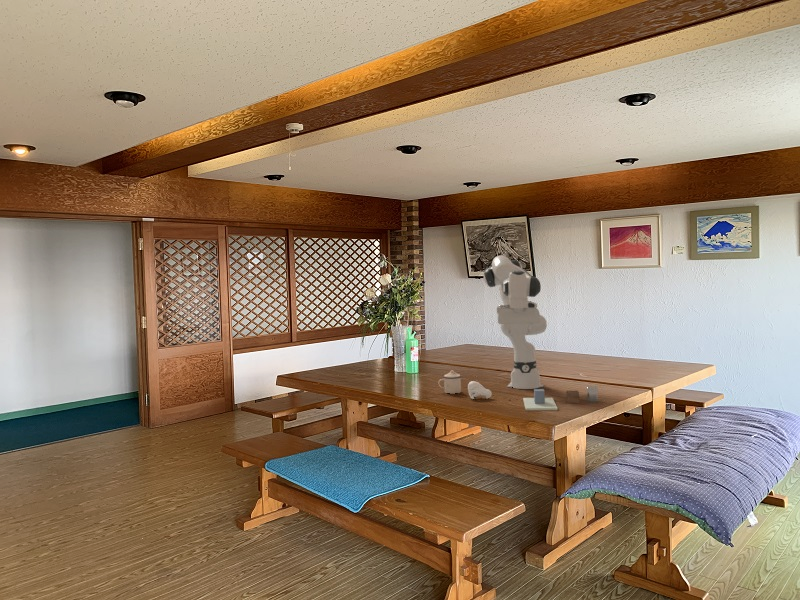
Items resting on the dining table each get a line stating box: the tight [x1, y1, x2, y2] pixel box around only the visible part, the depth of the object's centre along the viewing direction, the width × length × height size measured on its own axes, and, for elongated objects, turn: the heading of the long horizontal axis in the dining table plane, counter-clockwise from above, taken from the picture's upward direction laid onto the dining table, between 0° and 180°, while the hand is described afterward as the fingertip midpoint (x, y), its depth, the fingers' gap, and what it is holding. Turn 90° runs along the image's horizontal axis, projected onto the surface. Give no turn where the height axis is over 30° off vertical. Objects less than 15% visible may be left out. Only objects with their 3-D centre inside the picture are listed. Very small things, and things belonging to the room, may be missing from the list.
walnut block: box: [566, 390, 580, 404], centre depth 283 cm, size 5×5×5 cm
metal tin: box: [586, 385, 599, 403], centre depth 282 cm, size 5×5×7 cm
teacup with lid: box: [437, 370, 462, 395], centre depth 315 cm, size 12×9×12 cm
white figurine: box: [467, 380, 493, 400], centre depth 298 cm, size 6×8×12 cm
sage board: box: [522, 397, 558, 411], centre depth 279 cm, size 22×14×1 cm, turn 171°
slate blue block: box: [533, 388, 546, 404], centre depth 279 cm, size 4×4×6 cm
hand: (519, 333), depth 288 cm, fingers open, 8 cm apart
